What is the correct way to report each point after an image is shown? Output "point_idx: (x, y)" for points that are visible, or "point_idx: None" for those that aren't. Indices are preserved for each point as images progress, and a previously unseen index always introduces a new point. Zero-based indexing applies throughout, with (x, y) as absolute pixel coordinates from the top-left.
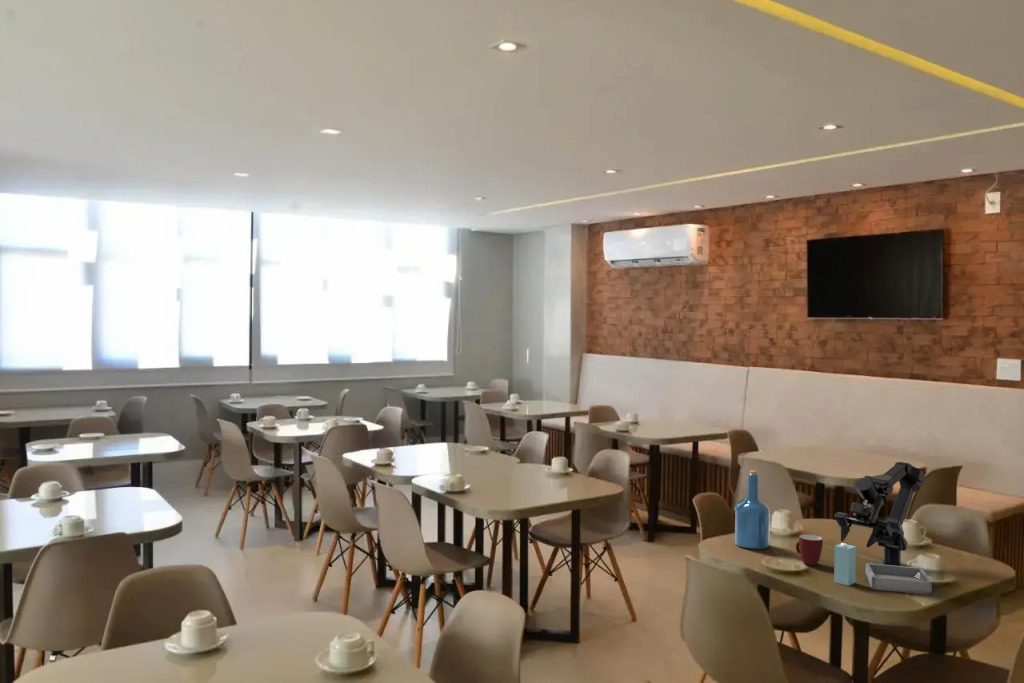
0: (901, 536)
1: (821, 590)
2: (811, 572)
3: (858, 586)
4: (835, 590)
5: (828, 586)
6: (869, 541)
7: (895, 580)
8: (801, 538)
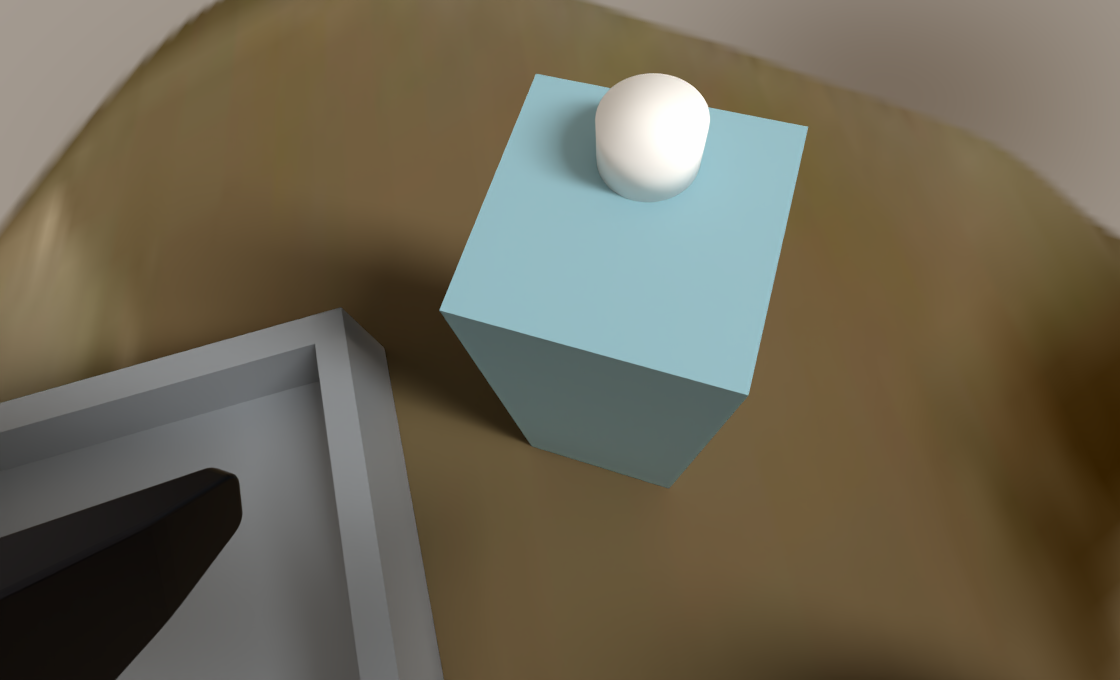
0: None
1: (720, 95)
2: (999, 546)
3: None
4: None
5: None
6: (93, 516)
7: (134, 370)
8: None
